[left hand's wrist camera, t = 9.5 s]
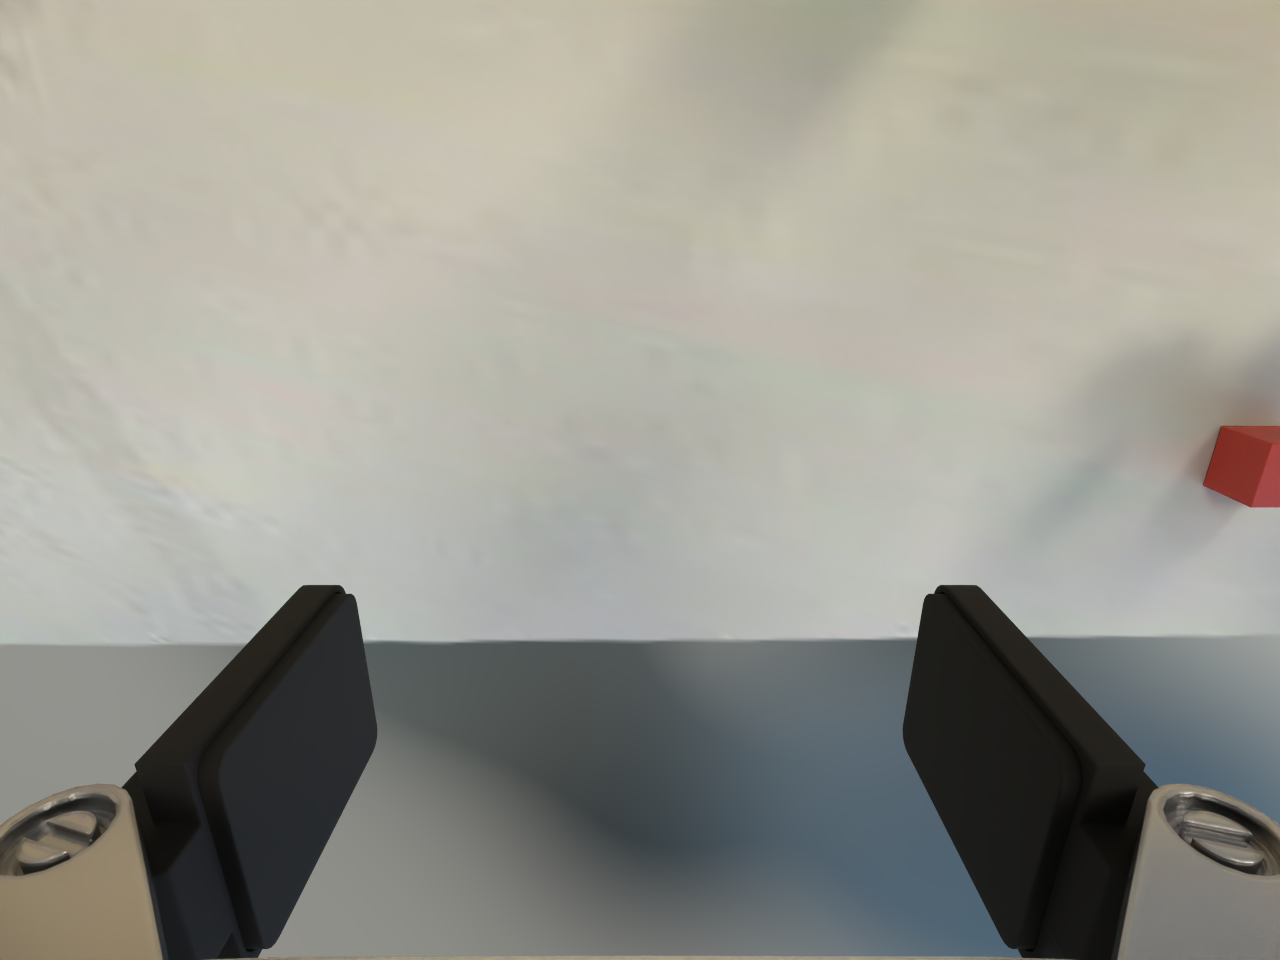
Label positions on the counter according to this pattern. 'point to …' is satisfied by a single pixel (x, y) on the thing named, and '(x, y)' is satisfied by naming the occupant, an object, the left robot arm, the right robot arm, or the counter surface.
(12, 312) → the counter surface
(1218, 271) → the counter surface
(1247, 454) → the cube
